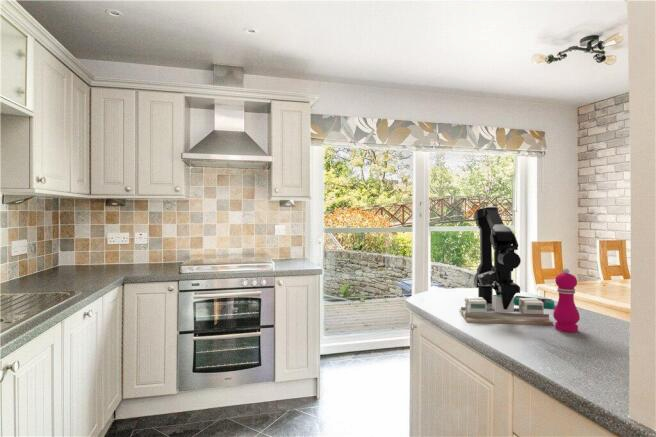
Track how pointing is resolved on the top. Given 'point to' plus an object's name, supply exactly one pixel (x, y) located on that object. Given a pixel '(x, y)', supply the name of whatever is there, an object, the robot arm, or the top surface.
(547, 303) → the digital multimeter
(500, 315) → the rail panel
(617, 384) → the top surface
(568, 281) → the pepper mill
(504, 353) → the top surface
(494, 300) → the block
